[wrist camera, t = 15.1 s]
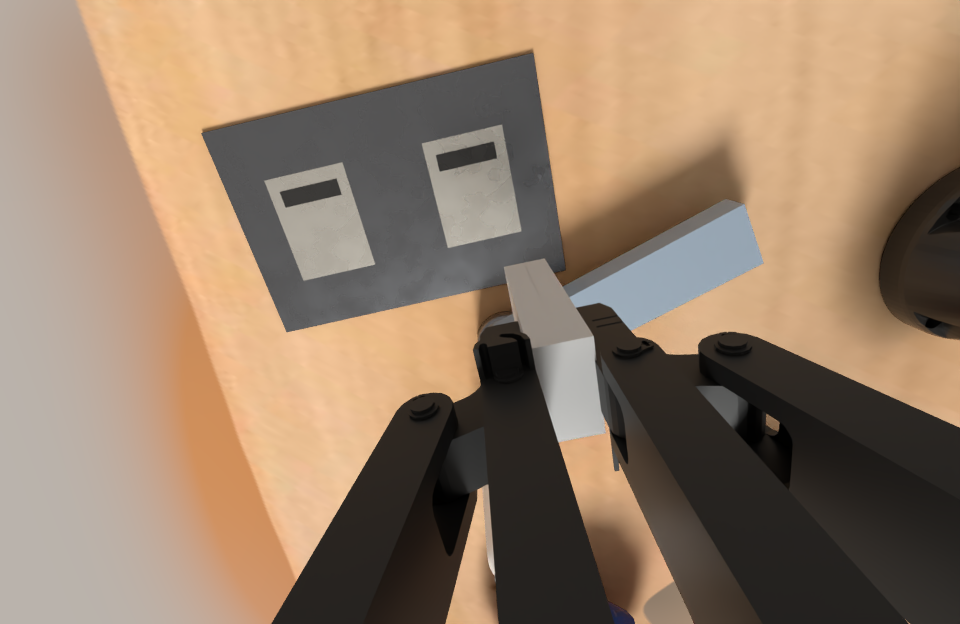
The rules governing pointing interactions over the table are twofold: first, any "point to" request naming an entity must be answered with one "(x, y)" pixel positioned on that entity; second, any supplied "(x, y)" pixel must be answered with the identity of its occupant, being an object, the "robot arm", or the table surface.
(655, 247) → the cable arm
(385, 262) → the label panel
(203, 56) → the table surface
